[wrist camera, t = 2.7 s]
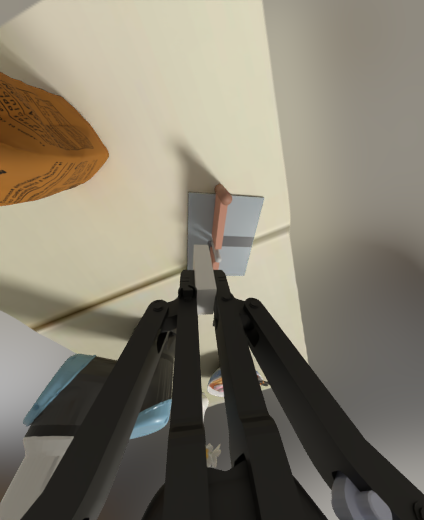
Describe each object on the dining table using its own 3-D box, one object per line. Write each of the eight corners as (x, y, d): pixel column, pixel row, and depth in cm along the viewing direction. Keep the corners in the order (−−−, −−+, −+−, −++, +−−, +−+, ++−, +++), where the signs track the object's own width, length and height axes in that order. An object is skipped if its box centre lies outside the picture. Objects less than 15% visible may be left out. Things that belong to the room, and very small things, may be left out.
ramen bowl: (192, 372, 73) (193, 395, 66) (225, 346, 64) (229, 369, 57) (235, 381, 83) (239, 401, 77) (269, 359, 74) (277, 380, 67)
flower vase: (176, 396, 85) (172, 475, 65) (209, 385, 83) (216, 465, 62) (188, 403, 93) (188, 476, 72) (219, 393, 90) (228, 467, 69)
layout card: (187, 274, 43) (187, 275, 43) (188, 192, 32) (188, 192, 32) (244, 274, 45) (244, 275, 45) (263, 197, 34) (264, 198, 34)
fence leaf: (210, 235, 37) (214, 252, 31) (215, 183, 31) (221, 192, 25) (218, 235, 37) (224, 252, 31) (224, 184, 31) (233, 193, 25)
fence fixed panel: (205, 280, 45) (208, 303, 38) (209, 237, 38) (214, 257, 31) (212, 280, 45) (216, 303, 38) (217, 238, 38) (223, 257, 31)
